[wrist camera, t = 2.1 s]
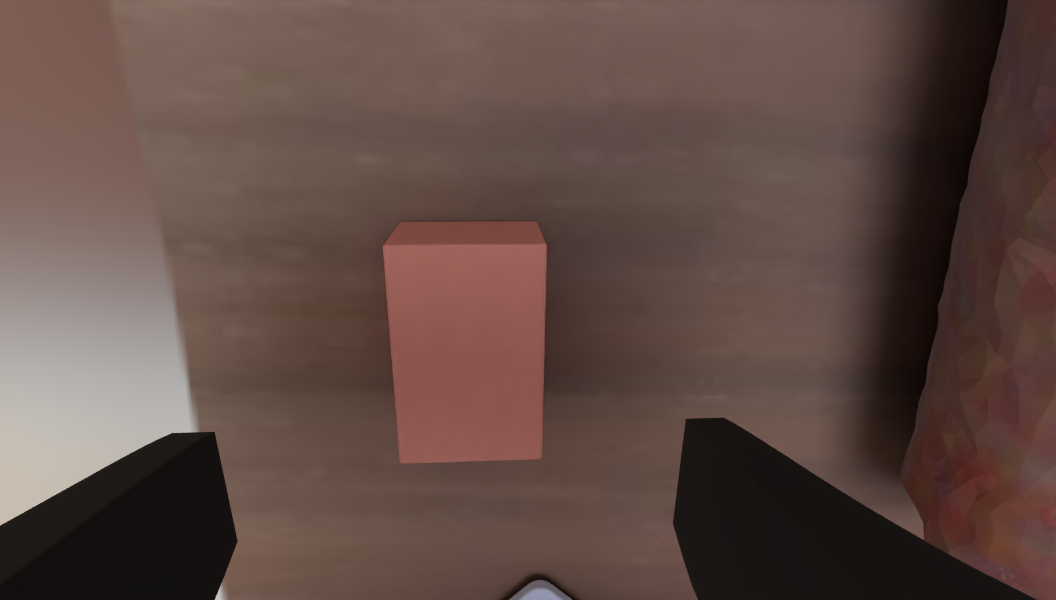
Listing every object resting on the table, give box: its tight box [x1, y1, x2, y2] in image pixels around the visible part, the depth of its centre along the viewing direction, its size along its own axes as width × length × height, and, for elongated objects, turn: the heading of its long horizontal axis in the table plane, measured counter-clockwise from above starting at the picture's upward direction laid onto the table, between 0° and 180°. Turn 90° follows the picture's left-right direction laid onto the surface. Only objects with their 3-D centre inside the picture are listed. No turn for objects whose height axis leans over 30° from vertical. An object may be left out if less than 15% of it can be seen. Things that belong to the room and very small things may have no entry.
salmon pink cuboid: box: [383, 221, 547, 464], centre depth 14 cm, size 6×4×2 cm, turn 179°
